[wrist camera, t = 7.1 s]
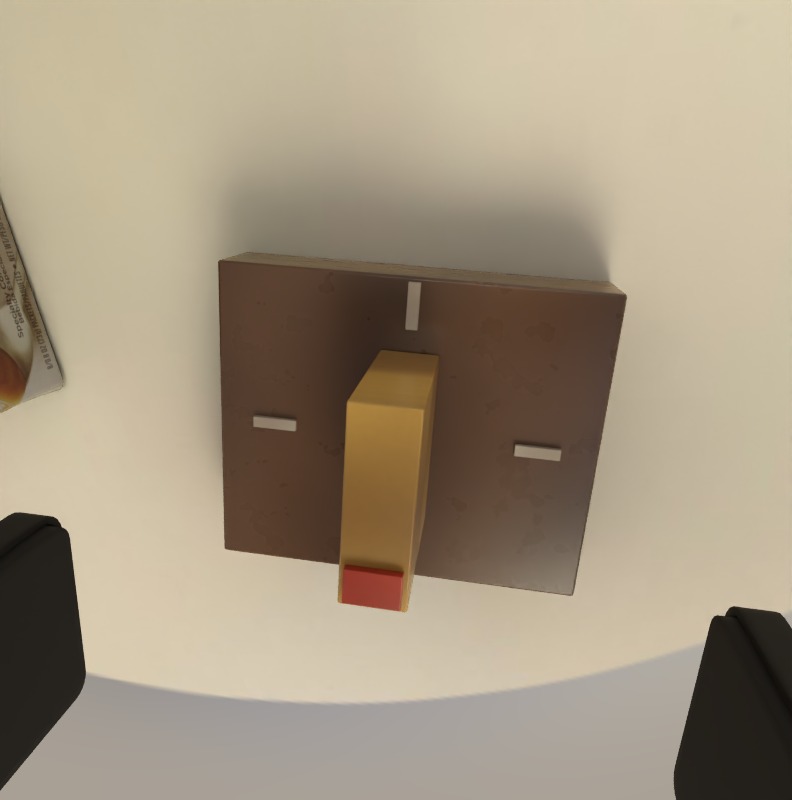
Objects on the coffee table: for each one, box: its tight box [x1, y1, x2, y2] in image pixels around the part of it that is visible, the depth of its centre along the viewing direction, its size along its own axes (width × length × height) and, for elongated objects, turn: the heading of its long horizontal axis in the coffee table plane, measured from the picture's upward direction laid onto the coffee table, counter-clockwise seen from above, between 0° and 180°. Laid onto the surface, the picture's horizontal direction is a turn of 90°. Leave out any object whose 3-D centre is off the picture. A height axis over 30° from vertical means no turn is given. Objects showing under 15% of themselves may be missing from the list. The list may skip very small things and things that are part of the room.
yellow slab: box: [338, 350, 440, 612], centre depth 18 cm, size 6×2×5 cm, turn 176°
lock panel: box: [218, 252, 627, 596], centre depth 22 cm, size 12×10×3 cm
